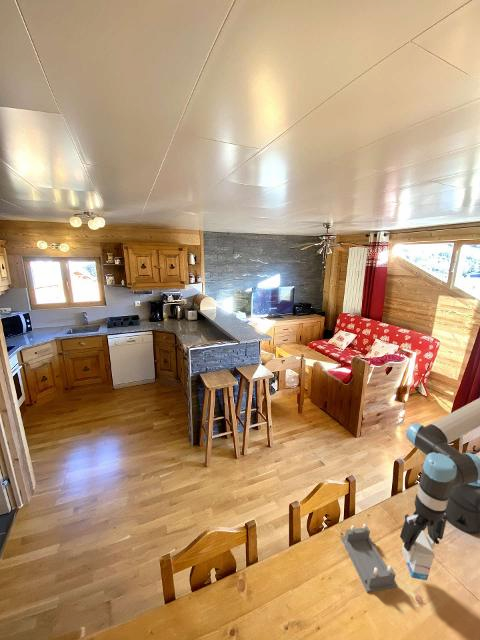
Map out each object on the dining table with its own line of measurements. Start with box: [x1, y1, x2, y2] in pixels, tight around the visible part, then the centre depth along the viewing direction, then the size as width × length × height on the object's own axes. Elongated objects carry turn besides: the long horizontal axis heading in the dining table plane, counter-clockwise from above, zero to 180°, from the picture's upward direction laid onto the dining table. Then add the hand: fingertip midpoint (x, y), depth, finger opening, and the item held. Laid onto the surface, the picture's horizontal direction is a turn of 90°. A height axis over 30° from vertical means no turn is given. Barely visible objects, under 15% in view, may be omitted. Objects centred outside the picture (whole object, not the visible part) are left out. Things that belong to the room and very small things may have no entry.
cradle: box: [340, 523, 398, 593], centre depth 95 cm, size 11×17×8 cm, turn 8°
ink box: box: [401, 530, 435, 581], centre depth 88 cm, size 9×5×12 cm, turn 169°
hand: (416, 554), depth 88 cm, fingers closed on ink box, 6 cm apart
